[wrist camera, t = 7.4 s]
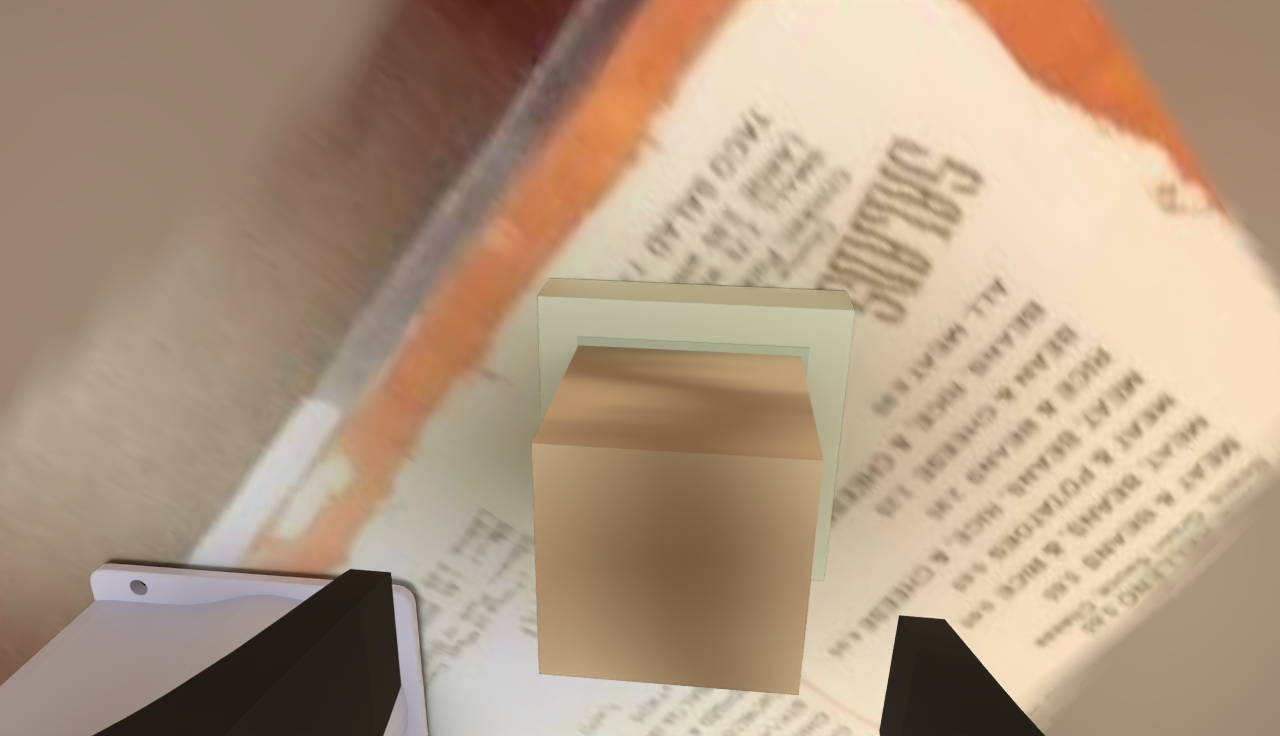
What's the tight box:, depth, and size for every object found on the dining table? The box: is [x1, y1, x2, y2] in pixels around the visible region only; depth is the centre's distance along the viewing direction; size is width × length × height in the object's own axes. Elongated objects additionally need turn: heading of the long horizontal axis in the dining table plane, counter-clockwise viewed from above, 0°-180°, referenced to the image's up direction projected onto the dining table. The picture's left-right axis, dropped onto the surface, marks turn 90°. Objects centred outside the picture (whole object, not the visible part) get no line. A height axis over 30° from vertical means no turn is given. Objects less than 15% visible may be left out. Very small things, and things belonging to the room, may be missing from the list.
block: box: [531, 345, 824, 695], centre depth 18 cm, size 5×5×5 cm
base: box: [537, 278, 855, 581], centre depth 21 cm, size 7×7×2 cm
